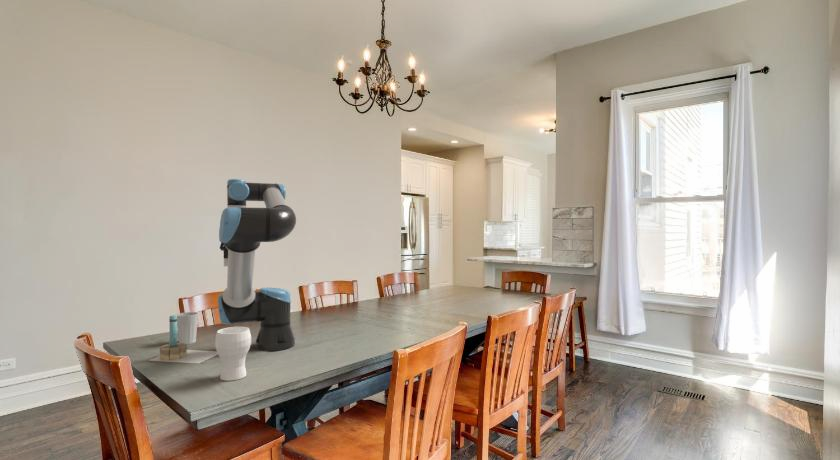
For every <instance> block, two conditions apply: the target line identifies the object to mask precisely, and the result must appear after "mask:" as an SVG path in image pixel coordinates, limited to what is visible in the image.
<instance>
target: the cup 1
mask: <svg viewBox="0 0 840 460" xmlns="http://www.w3.org/2000/svg"><path fill="white" fill-rule="evenodd" d="M176 316H177V341H178V343H185V344H186V345H189V344H190V345H191V344H194V343H196V342H197V333H198V332H197V331H198V330H197V329H198V319H199V312H196V311H195V312H194V311H190V312H188V311H187V312H180V313H177V314H176Z"/></svg>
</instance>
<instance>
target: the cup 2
mask: <svg viewBox="0 0 840 460" xmlns="http://www.w3.org/2000/svg"><path fill="white" fill-rule="evenodd" d="M251 334H252V333H251V330H250V328H249V327H248V326H230V327H225V328H220V329H218V330H217V331H216V335H215V339H214V340H215V341H214V342H215V343H214V347H215V350H216V351H217V353H218V355H217V356H218V357H219V358H220V362H221V371H220V378H219V379H220V380H222V381H225V382H227V381H230V382H231V381H237V380H240V379H243V378H245V377H247V368H246V358H247V355H248V352H249V350H250V348H251V346H252V335H251Z"/></svg>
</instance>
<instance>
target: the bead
mask: <svg viewBox="0 0 840 460" xmlns="http://www.w3.org/2000/svg"><path fill="white" fill-rule="evenodd" d="M187 345H188V344H185V343H179V342H177V347H172V348H171V347H170V343H167V344H164V345H162V346H159V356H160V360H165V361H169V360H170V361H171V360H177V359H181V358H184V357H186V356H187V350H188V347H187Z"/></svg>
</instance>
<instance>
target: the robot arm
mask: <svg viewBox="0 0 840 460" xmlns="http://www.w3.org/2000/svg"><path fill="white" fill-rule="evenodd" d="M226 184H227V185H226V189H227V190H226V193H227V194H226V195H227V196H226V198H227V199H226V201H227V203H226V204H227V206H226V208H224V209H223V210H222V213H221V216H220V222H219V229H218V230H219V231H218V240H219V242H220V245H219V249H220V251H223V267H227V279H226V282H227V283H226V288H225V289H224V290H223V292H222V293H221V294H219V295H218V297H217V302H218V304H217V305H218V306H217V307H218V313H219V314H218V315H219V319H220V322H221V324H223V325H236V324H245V323H259V324H260V326H259V330H258V333H257V336H256V339H255V347H254V348H255V349H256V350H260V351H268V352H269V351H272V352H274V351H282V350H287V349H290V348H293V347H294V346H296V338H295V335H294V333H293V329H292V326H291V303H292V300H291V292H290V291H289V290H287V289H285V288H280V287H279V288H278V287H261V288H260V289H259V291H255V290H254V288H253V277H254V267H255V256H256V255H255V253H256V251H257V250H258V248H260V245H261V243H272V242H273V243H274V242H277V241H280V240H282V239H284V238H286V237H288V236H289V235H290V234H291V233H292V232H293V230H294V229H295V228H296V227H295V226H296V223H297V218H296V214H295V212H294V210H293V209H292V207H291V206H288V204H287V202H286V197H287V196H286V195H287V194H286V190H287V189H286V186H285V185H284V184H281V183H267V182H266V183H262V182H260V183H259V182H247V181H246V180H244V179H238V178H232V179H228V180H227V183H226ZM247 202H264V204H265V207H247Z"/></svg>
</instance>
